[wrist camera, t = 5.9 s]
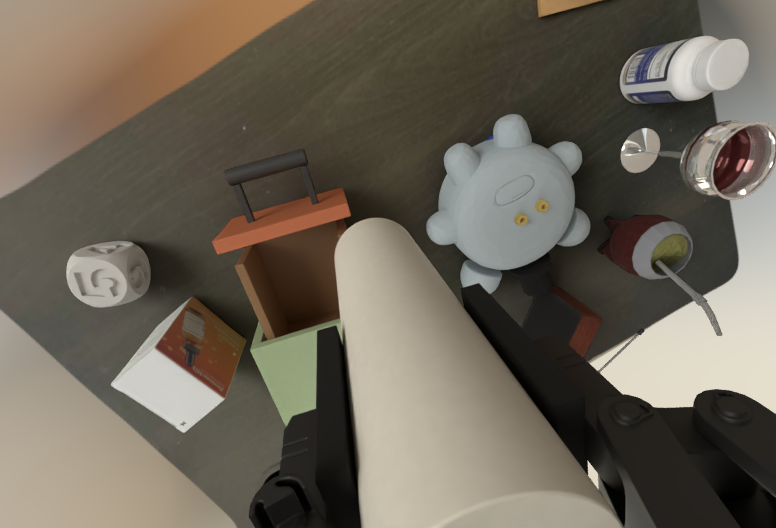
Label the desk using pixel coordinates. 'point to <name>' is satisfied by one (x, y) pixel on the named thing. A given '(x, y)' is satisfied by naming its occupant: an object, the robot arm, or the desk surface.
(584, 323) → the radio
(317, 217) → the drawer
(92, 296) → the die
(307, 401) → the cabinet
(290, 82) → the desk surface
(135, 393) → the small box
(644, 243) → the mate gourd
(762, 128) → the wineglass
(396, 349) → the canister
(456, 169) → the figurine
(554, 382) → the robot arm
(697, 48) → the pill bottle
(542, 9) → the coaster
